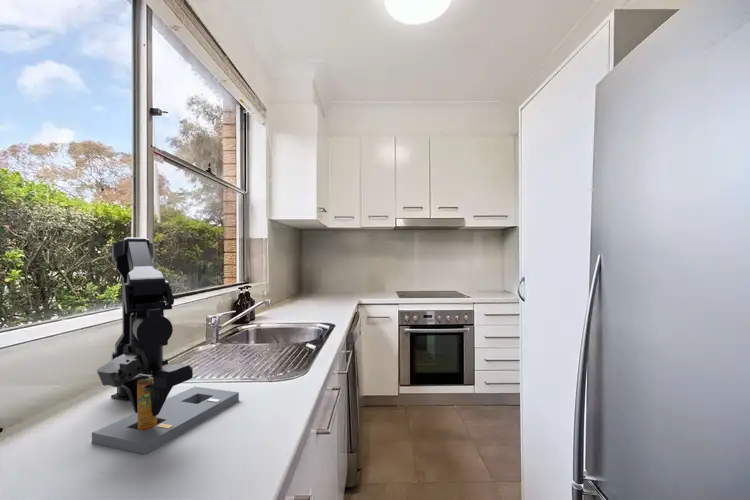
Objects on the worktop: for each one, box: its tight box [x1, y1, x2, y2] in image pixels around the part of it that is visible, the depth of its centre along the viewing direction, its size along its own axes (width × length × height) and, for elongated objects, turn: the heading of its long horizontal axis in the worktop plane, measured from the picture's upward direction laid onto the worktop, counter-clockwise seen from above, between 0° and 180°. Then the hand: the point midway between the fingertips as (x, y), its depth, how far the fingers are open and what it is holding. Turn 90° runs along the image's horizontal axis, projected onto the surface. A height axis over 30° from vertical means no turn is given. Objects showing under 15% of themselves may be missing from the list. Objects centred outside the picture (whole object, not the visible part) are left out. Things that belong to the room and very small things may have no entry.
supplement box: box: [137, 377, 157, 431], centre depth 72 cm, size 3×3×10 cm
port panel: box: [91, 386, 240, 455], centre depth 78 cm, size 14×25×2 cm, turn 162°
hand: (147, 413), depth 72 cm, fingers closed on supplement box, 4 cm apart
